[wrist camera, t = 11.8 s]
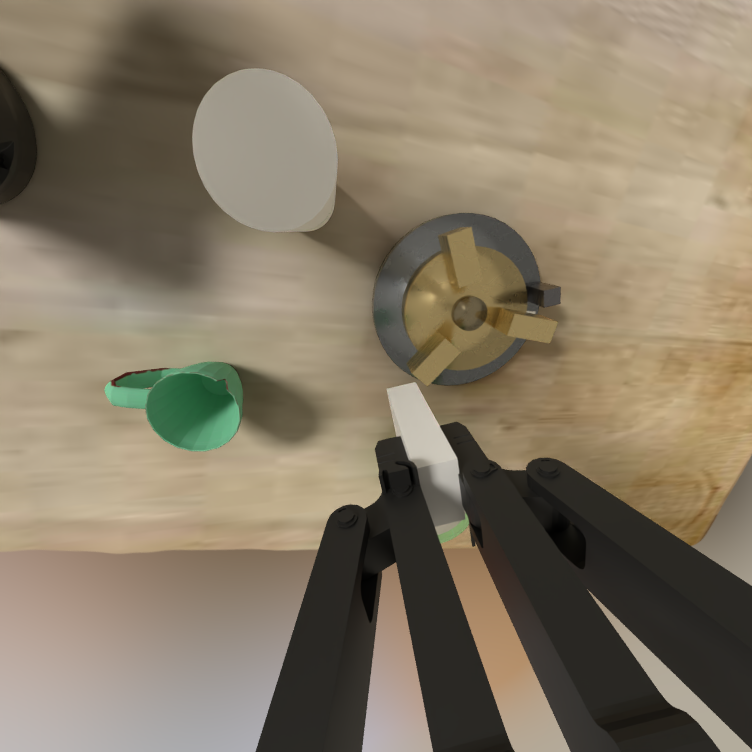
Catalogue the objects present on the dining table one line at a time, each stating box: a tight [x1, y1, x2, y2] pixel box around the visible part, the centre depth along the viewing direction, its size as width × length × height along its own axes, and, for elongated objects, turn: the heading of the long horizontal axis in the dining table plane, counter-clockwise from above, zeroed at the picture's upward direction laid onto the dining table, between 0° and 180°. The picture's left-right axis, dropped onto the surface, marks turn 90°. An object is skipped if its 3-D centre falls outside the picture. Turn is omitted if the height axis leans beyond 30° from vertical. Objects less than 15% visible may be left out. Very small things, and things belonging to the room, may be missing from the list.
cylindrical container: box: [192, 68, 338, 232], centre depth 30 cm, size 7×7×25 cm
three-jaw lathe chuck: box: [402, 227, 558, 386], centre depth 43 cm, size 17×18×6 cm
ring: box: [372, 213, 560, 385], centre depth 45 cm, size 22×22×7 cm
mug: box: [105, 362, 243, 451], centre depth 43 cm, size 15×10×10 cm
